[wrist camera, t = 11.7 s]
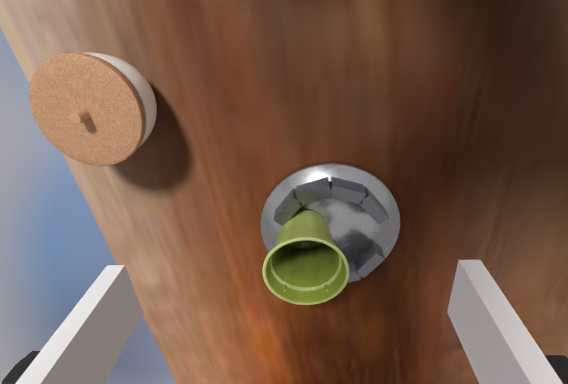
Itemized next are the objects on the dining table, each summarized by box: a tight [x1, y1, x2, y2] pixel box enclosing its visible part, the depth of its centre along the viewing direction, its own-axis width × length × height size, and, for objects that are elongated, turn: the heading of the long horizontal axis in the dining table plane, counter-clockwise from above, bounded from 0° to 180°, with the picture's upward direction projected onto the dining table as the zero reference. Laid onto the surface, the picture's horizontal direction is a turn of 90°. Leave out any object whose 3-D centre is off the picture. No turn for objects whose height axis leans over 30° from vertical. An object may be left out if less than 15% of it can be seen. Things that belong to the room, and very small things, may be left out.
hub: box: [261, 162, 400, 283], centre depth 43 cm, size 18×18×4 cm
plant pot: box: [263, 210, 349, 305], centre depth 40 cm, size 9×9×9 cm
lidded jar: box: [29, 53, 157, 166], centre depth 35 cm, size 11×11×9 cm
